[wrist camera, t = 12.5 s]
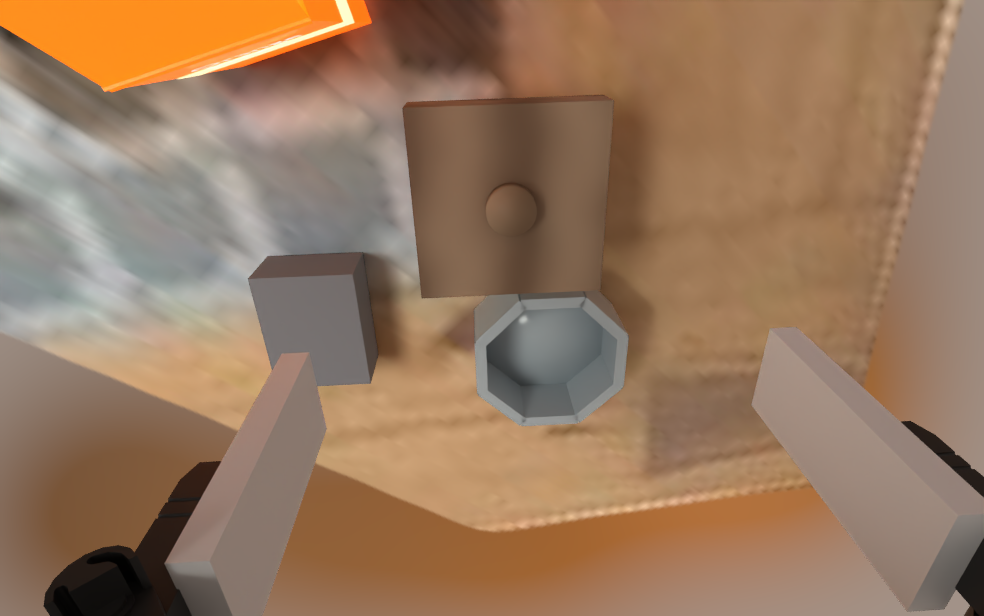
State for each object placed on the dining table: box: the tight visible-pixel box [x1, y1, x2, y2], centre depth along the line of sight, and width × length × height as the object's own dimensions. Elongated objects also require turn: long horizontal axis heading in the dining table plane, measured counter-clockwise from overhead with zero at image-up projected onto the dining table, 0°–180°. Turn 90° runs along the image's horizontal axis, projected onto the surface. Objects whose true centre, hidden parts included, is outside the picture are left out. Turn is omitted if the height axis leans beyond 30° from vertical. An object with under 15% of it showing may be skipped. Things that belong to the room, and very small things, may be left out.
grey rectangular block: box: [248, 252, 378, 386], centre depth 40 cm, size 7×9×4 cm
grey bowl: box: [474, 290, 629, 426], centre depth 41 cm, size 11×11×5 cm
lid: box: [403, 95, 614, 298], centre depth 31 cm, size 11×11×4 cm
